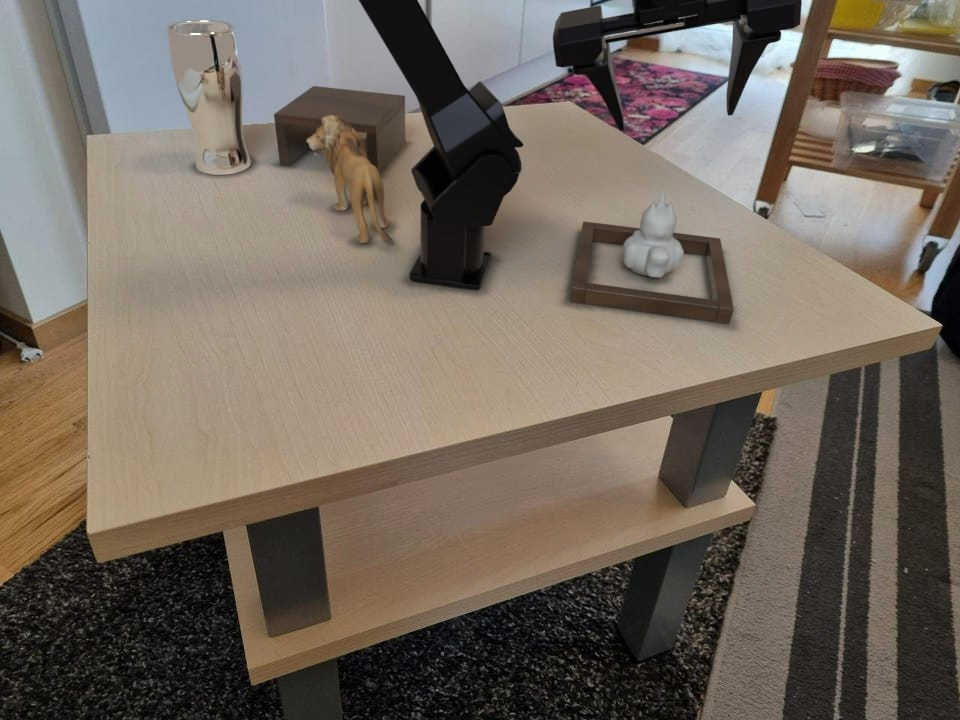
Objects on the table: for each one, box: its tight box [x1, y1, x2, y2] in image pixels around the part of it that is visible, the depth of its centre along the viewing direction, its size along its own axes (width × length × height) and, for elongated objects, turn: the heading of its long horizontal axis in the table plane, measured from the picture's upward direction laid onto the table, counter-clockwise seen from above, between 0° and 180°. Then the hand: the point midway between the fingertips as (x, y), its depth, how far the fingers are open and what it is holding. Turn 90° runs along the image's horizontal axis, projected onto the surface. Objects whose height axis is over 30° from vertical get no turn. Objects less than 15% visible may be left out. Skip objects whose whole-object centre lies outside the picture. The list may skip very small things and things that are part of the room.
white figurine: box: [622, 190, 685, 279], centre depth 64 cm, size 5×7×8 cm
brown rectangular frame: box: [569, 221, 734, 325], centre depth 66 cm, size 14×14×2 cm
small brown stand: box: [273, 85, 407, 175], centre depth 86 cm, size 12×12×6 cm
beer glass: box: [166, 19, 252, 176], centre depth 79 cm, size 7×7×15 cm
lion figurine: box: [306, 115, 394, 244], centre depth 71 cm, size 15×5×9 cm, turn 33°
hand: (674, 121), depth 63 cm, fingers open, 9 cm apart
